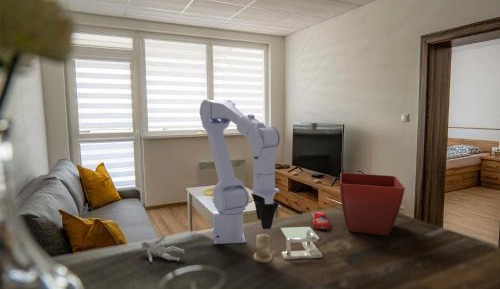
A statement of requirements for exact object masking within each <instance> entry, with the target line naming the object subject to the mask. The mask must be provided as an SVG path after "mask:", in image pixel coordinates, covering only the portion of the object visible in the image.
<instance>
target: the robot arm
mask: <svg viewBox="0 0 500 289" xmlns="http://www.w3.org/2000/svg"><path fill="white" fill-rule="evenodd" d="M199 116H200V120H201V124H202V128H203V129H205V130H206V131H205V132H206V136H207V139H208V143H209V147H210V150H211V155H212V159H213V163H214V166H215V171H216V175H217V178H218V182H217V183H216V185H214V187H213V189H212V193H213V204H214V207H215V209H216V210H214V211H213V214H212V215H213V228H212V230H211V231H212V233H211V234H212V236H213V244H214V245H218V244H219V245H223V244H243V243H246V237H245V234H244V211H246V207H248V206H249V204H250V195H251V197H252V200H253V202H254V205H255V206H254V207H255V211H256V217H257V220H259V221H260V222H261V223H260V225H261V227H262V229H263V230H271V229H272V226H273V223H274V222H273V221H274V217H275V213H276V211H277V210H278V208H279V205H280V203H279V202H278V201H274V196H275V195H276V193H280V189H279V188H277V187H276V148H278V146H279V144H280V141H281V134H280V132H279V130H278V129H277V128H276V127H275V126H269V127H268V126H266V125H265V123H264V122H262V121H259V120H258V119H257V118H255V115H254V114H251V113H250V114H244V113H243V112H241V110H239V109H238V108H237V107H236V104H235V102H233V101H232V100H229V99H228V100H225V99H224V100H221V99H220V100H218V99H216V100H215V99H208V98H207V99H203V100H202V102H201V103H200V108H199ZM231 122H232V123H233V124H234V125H236V130H237V132H239V133H240V134H241V135H242V136H243V137H245V139H247V140H248V144H249V147H250V150H251V151H250V154H251V156H252V157H253V158H252V160H253V163H252V164H253V166H252V167H253V168H252V170H253V172H252V173H253V177H252V178H253V179H252V180H253V181H252V185H253V186H252V192H251V194H249V192H248V189H246V187H245V186H246V185H245V184H244V182H243V181H242V180H240V179H239V178H238V177H236V175H235V171H234V168H233V163H232V159H231V157H230V153H229V148H228V145H227V142H226V141H227V140H226V139H225V138H226V137H225V134H224V130H226V129H227V128H229V126H230V123H231Z"/></svg>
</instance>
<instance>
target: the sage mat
mask: <svg viewBox="0 0 500 289" xmlns="http://www.w3.org/2000/svg"><path fill="white" fill-rule="evenodd" d="M307 230H310V231H311V232H312V233H313V234H314V236H315V237H316V238H317V241H318V240H320V237H319V236H318V234H317V233H315V231H314V230H313V229H312V228H311V227H310V226H298V227H297V226H295V227H294V226H293V227H292V226H291V227H290V226H289V227H280V231H281V232H282V234H283V236H284V237H285V239H286V240H287V239H294V238H306V233H307Z"/></svg>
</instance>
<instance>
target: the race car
mask: <svg viewBox="0 0 500 289" xmlns="http://www.w3.org/2000/svg"><path fill="white" fill-rule="evenodd" d="M329 219H330V218H329V217H327V214H326V212H324V211H313V212H312V215H311V221H312V225H313V229H315V230H320V231H322V230H323V231H324V230H326V231H327V230H329V229H330V222H329Z"/></svg>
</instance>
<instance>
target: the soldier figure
mask: <svg viewBox="0 0 500 289" xmlns="http://www.w3.org/2000/svg"><path fill="white" fill-rule="evenodd" d="M166 237H167V234H163V235H162V237H160V238H159V239H156V240H152V241H151V242H150V243H149V241H148V240H147V241H146V240H143V241H142V242H141V249H143V250H145V249H146V252H147V255H148V260H149V262H150V263H153V255H155V256H158V257H159V258H162V259H164V260H165V259H166V260H168V261H177V262H180V261H181V258H179V257H175V256H172V255H171V254H169V253H171V252H180V253H182V254H185V252H186V251H185V249H184V248H182V249H181V248H179V247H176V246H175V245H172V246H168V247H165V246H162V244H160V243H161V242H163V241H164V239H165V238H166ZM179 260H180V261H179Z"/></svg>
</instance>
